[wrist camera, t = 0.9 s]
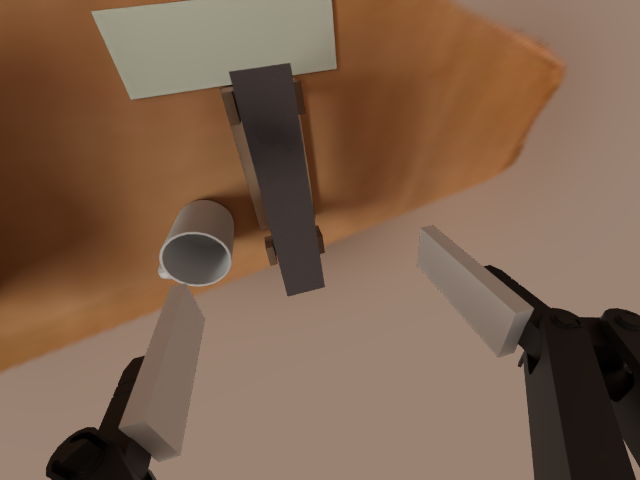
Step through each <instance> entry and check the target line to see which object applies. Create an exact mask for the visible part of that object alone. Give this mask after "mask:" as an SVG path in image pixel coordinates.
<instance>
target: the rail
mask: <svg viewBox="0 0 640 480" xmlns="http://www.w3.org/2000/svg"><path fill="white" fill-rule="evenodd" d="M229 75H230V79H231V83H232V86H233V90H234V94H235V98H236V102H237V105H238V109H239V113H240V117H241V121H242V124H243V128H244V132H245V136H246V140H247V143H248V147H249V151H250V155H251V159H252V162H253V166H254V170H255V174H256V178H257V181H258V185H259V189H260V193H261V197H262V200H263V204H264V208H265V212H266V216H267V219H268V223H269V227H270V231H271V235H272V239H273V242H274V246H275V250H276V254H277V258H278V261H279V265H280V269H281V273H282V276H283V280H284V284H285V288H286V292H287V296H291V295H296V294H300V293H303V292H307V291H311V290H315V289H319V288H323V287H325V286H324V279H323V272H322V266H321V260H320V253H319V246H318V240H317V233H316V227H315V220H314V214H313V207H312V201H311V194H310V187H309V181H308V174H307V168H306V161H305V155H304V148H303V142H302V135H301V129H300V122H299V116H298V109H297V103H296V96H295V89H294V83H293V76H292V70H291V63H285V64H279V65H272V66H265V67H258V68H251V69H244V70H237V71H230V72H229Z"/></svg>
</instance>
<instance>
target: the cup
mask: <svg viewBox="0 0 640 480" xmlns="http://www.w3.org/2000/svg"><path fill="white" fill-rule="evenodd" d="M233 240H234V220H233V217H232V215H231V214H230V212H229V211H228V210H227V209H226V208H225V207H224V206H222V205H221V204H219V203H217V202H214V201H210V200H197V201H193V202H191V203H189V204H187V205H185V206H184V207H183V208H182V209H181V211H180V212H179V214H178V216H177V218H176V220H175V222H174V224H173V226H172V228H171V230H170V232H169V234H168V236H167V238H166V240H165V242H164V244H163V246H162V248H161V250H160V256H159V260H160V265H159V268H158V273H159V275H160V277H161V278H165V279H171V278H172V279H173V280H175V281H177V282H179V283H182V284H184V283H186V284H187V285H189V286H206V285H210V284H214V283H216V282H218V281H220V280H221V279H222V278H223V277H224V276H226V274H227V273H228V271H229V270H230V267H231V263H232V252H233Z"/></svg>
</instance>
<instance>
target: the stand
mask: <svg viewBox="0 0 640 480" xmlns="http://www.w3.org/2000/svg"><path fill="white" fill-rule="evenodd" d="M293 83H294V89H295V96H296V103H297V109H298V116H299V122H300V129H301V135H302V142H303V148H304V155H305V161H306V168H307V174H308V181H309V187H310V194H311V201H312V207H313V214H314V219H316V218H315V211H314V204H313V198H312V191H311V184H310V178H309V171H308V164H307V158H306V151H305V144H304V138H303V131H302V124H301V118H300V114H305V107H304V100H303V93H302V86H301V81H295V78H294V77H293ZM220 90H221V94H222V98H223V101H224V105H225V108H226V112H227V115H228V118H229V122H230V125H231V129H232V132H233V136H234V139H235V143H236V146H237V150H238V153H239V157H240V160H241V164H242V167H243V171H244V174H245V178H246V181H247V185H248V188H249V192H250V195H251V199H252V202H253V206H254V209H255V213H256V216H257V219H258V223H259V226H260V230H266V229H270V227H269V223H268V219H267V216H266V212H265V208H264V204H263V200H262V197H261V193H260V189H259V185H258V181H257V178H256V174H255V170H254V166H253V162H252V159H251V155H250V151H249V147H248V143H247V140H246V136H245V132H244V128H243V124H242V121H241V117H240V113H239V109H238V105H237V102H236V98H235V94H234V90H233V87H226V88H221V89H220ZM315 227H316V233H317V240H318V246H319V253H320V254H321V253H324V252H325V251H324V244H323V236H322V234H321V232H320V229H319V227H318V226H315ZM265 246H266V251H267V255H268V258H269V262H270V265H276V264H277V257H276V255H277V254H276V250H275V246H274V242H273V239H272V236H269V237H265Z"/></svg>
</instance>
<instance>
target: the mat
mask: <svg viewBox="0 0 640 480" xmlns="http://www.w3.org/2000/svg"><path fill="white" fill-rule="evenodd" d="M91 13H92V15H93V17H94V20H95V22H96V24H97V26H98V28H99V31H100V33H101V35H102V37H103V39H104V42H105V44H106V46H107V48H108V50H109V53H110V55H111V57H112V59H113V61H114V64H115V66H116V68H117V70H118V72H119V75H120V77H121V79H122V81H123V83H124V86H125V88H126V90H127V92H128V94H129V97H130V99H131V100H133V99H140V98H146V97H153V96H159V95H166V94H173V93H179V92H186V91H193V90H199V89H206V88H212V87H219V86H226V85H232V83H231V79H230V75H229V72H230V71H237V70H244V69H251V68H258V67H265V66H272V65H279V64H285V63H291V70H292V75H299V74H305V73H312V72H319V71H325V70H332V69H337V64H336V51H335V37H334V24H333V11H332V0H189V1H180V2H171V3H162V4H153V5H144V6H135V7H126V8H117V9H108V10H99V11H91Z"/></svg>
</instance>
